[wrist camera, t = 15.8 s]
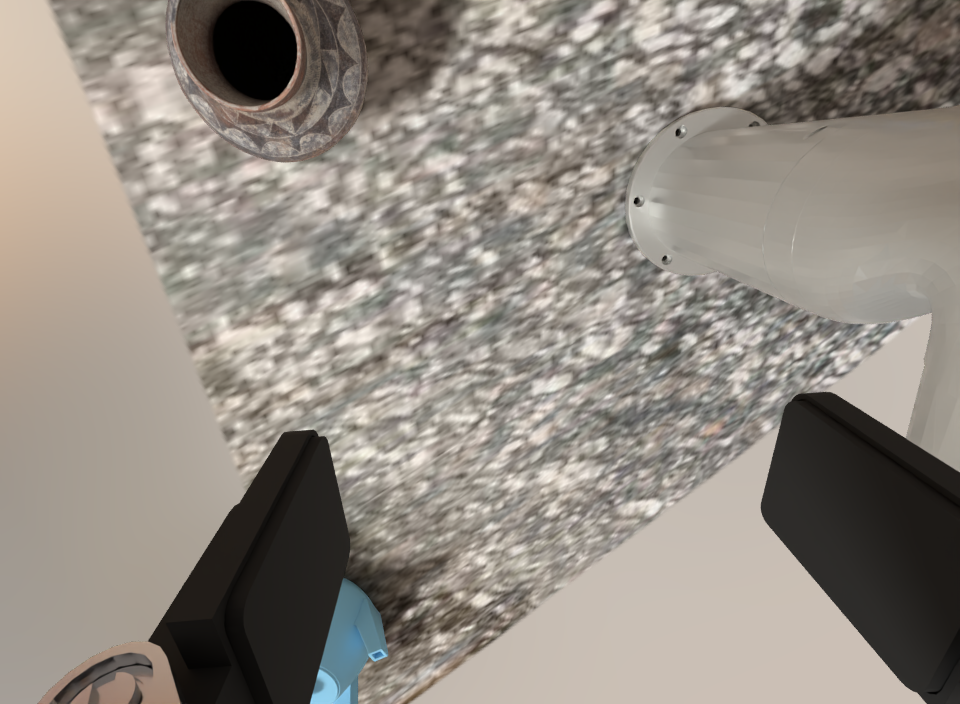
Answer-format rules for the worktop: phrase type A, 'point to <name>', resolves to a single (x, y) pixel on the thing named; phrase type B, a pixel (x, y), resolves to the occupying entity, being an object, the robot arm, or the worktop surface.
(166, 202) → the worktop surface
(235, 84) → the pottery
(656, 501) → the worktop surface
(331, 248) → the worktop surface
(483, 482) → the worktop surface
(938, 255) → the robot arm
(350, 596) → the teapot
